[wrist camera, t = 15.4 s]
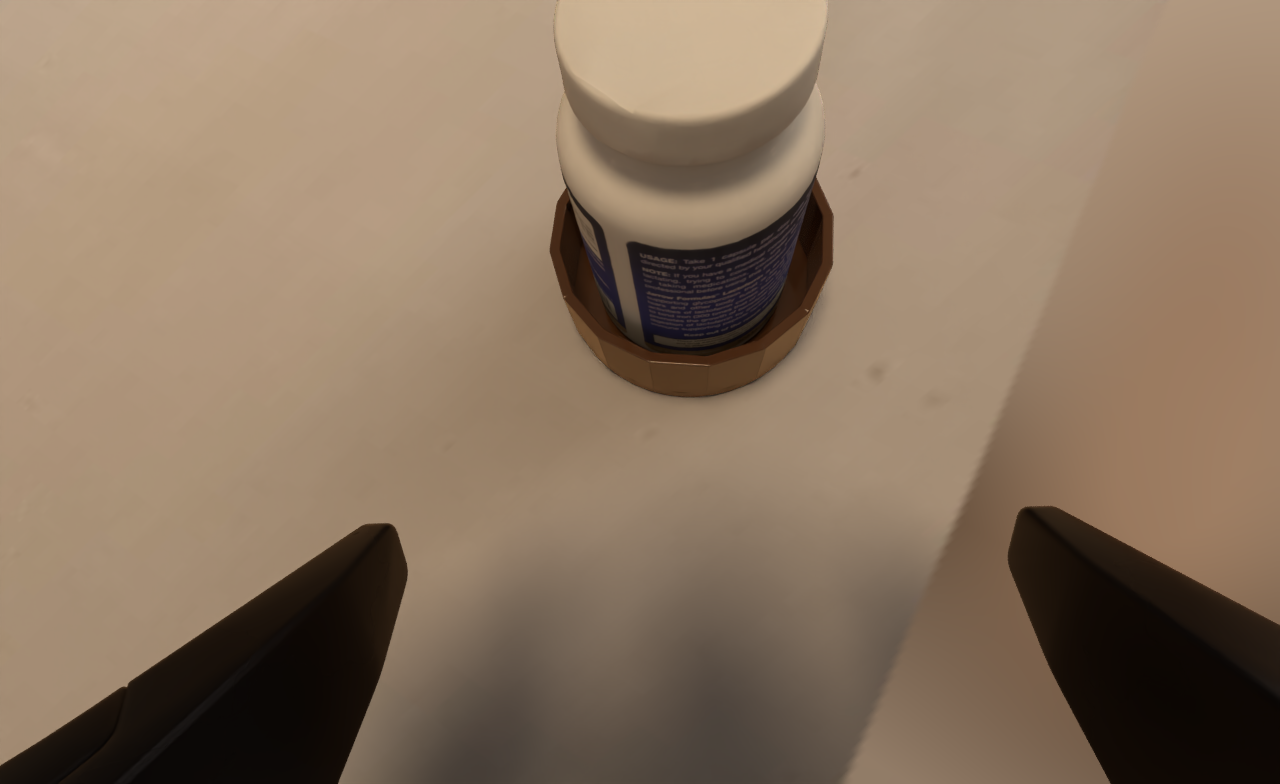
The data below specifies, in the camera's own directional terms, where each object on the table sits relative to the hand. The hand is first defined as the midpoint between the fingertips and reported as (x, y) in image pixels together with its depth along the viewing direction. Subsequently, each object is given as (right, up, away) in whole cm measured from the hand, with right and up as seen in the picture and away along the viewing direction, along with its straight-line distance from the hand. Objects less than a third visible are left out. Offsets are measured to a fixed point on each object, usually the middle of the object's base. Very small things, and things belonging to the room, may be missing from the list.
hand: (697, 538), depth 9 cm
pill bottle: (+1, +6, +11) cm, 13 cm away
